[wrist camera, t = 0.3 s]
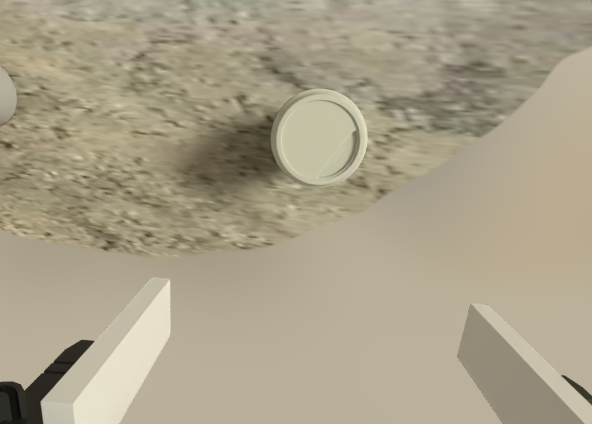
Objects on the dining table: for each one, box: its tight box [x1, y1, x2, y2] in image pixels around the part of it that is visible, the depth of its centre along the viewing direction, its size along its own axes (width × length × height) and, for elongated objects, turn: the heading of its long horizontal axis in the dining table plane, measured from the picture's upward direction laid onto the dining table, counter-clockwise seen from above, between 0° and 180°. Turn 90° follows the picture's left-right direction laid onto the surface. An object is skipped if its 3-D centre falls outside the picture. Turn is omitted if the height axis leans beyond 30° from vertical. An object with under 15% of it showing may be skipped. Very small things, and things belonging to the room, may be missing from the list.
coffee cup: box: [271, 89, 367, 188], centre depth 34 cm, size 8×9×12 cm
